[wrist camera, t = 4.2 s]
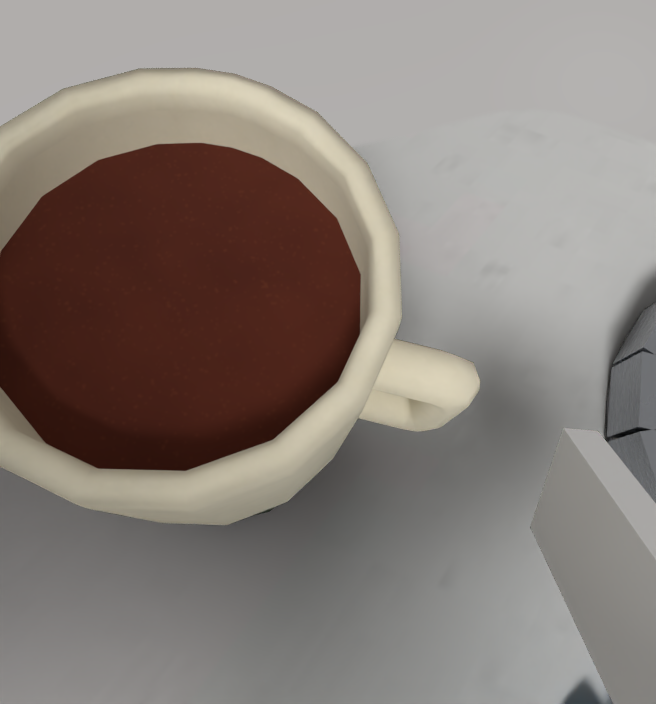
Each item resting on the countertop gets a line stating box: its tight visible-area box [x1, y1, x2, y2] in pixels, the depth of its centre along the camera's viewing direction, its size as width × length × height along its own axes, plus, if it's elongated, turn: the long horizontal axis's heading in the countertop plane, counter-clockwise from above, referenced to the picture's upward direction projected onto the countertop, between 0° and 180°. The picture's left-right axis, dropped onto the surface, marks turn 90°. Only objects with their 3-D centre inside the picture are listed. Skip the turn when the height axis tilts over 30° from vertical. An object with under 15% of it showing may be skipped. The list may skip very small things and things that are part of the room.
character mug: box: [0, 68, 480, 525], centre depth 14 cm, size 11×7×13 cm, turn 77°
